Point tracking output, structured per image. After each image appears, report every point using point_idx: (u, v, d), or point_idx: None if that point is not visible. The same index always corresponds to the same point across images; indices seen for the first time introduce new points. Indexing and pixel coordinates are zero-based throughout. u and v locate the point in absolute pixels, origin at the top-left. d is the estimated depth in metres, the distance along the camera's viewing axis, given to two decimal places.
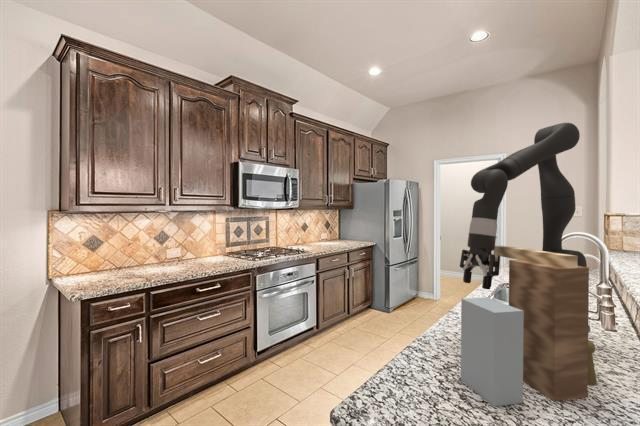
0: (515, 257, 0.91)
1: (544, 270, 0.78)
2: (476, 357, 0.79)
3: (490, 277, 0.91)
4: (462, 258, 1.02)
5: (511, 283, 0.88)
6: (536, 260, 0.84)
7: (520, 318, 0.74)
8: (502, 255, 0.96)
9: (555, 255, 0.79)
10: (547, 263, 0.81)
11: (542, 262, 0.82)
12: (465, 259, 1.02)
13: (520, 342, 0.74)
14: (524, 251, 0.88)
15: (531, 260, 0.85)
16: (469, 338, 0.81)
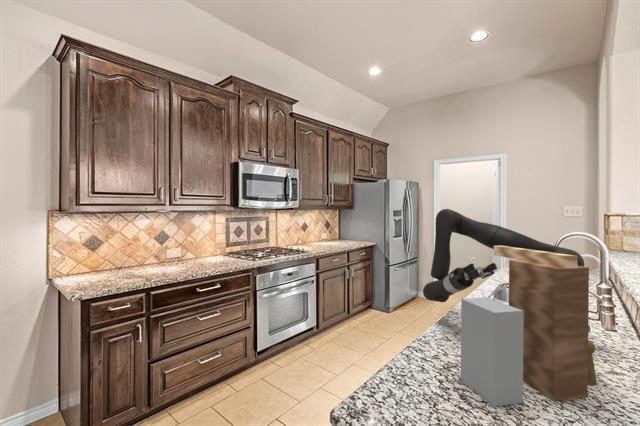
0: (515, 257, 0.91)
1: (544, 270, 0.78)
2: (476, 357, 0.79)
3: (464, 269, 1.07)
4: (487, 275, 1.12)
5: (511, 283, 0.88)
6: (536, 260, 0.84)
7: (520, 318, 0.74)
8: (502, 255, 0.96)
9: (555, 255, 0.79)
10: (547, 263, 0.81)
11: (542, 262, 0.82)
12: None
13: (520, 342, 0.74)
14: (524, 251, 0.88)
15: (531, 260, 0.85)
16: (469, 338, 0.81)
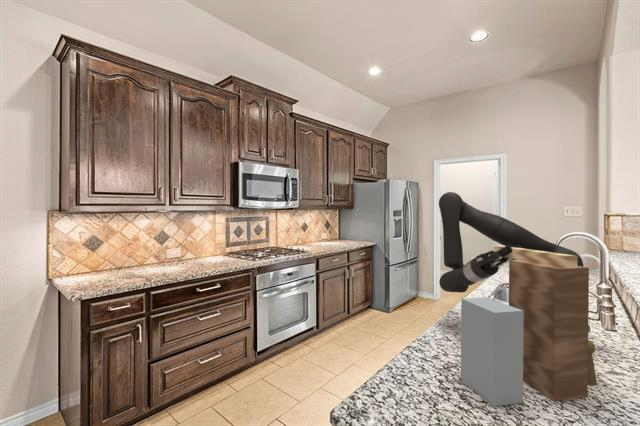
0: (515, 257, 0.91)
1: (544, 270, 0.78)
2: (476, 357, 0.79)
3: (499, 252, 0.95)
4: None
5: (511, 283, 0.88)
6: (536, 260, 0.84)
7: (520, 318, 0.74)
8: None
9: (555, 255, 0.79)
10: (547, 263, 0.81)
11: (542, 262, 0.82)
12: (511, 258, 1.00)
13: (520, 342, 0.74)
14: (524, 251, 0.88)
15: (531, 260, 0.85)
16: (469, 338, 0.81)
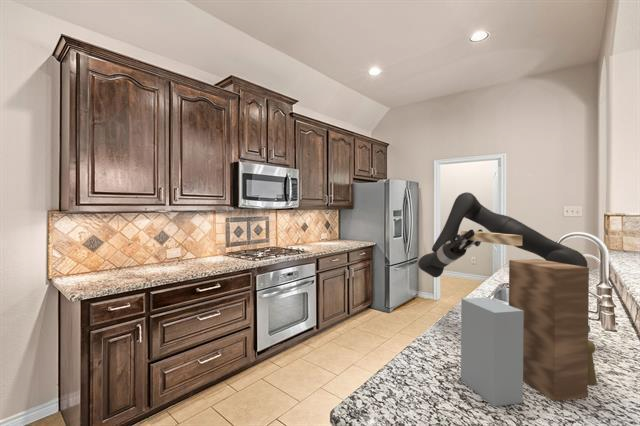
0: (476, 239, 1.06)
1: (544, 270, 0.78)
2: (476, 357, 0.79)
3: (464, 236, 1.10)
4: (478, 243, 1.14)
5: (511, 283, 0.88)
6: (491, 240, 0.99)
7: (520, 318, 0.74)
8: None
9: (505, 235, 0.93)
10: (499, 242, 0.96)
11: (496, 242, 0.97)
12: (476, 241, 1.14)
13: (520, 342, 0.74)
14: (483, 233, 1.03)
15: (488, 241, 1.00)
16: (469, 338, 0.81)
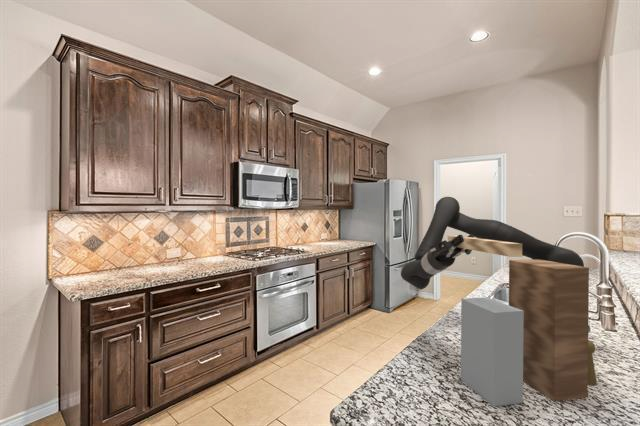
0: (466, 246, 0.86)
1: (544, 270, 0.78)
2: (476, 357, 0.79)
3: (451, 242, 0.91)
4: (469, 251, 0.95)
5: (511, 283, 0.88)
6: (483, 249, 0.80)
7: (520, 318, 0.74)
8: None
9: (500, 243, 0.74)
10: (493, 252, 0.76)
11: (489, 251, 0.78)
12: None
13: (520, 342, 0.74)
14: (474, 240, 0.83)
15: (479, 249, 0.81)
16: (469, 338, 0.81)
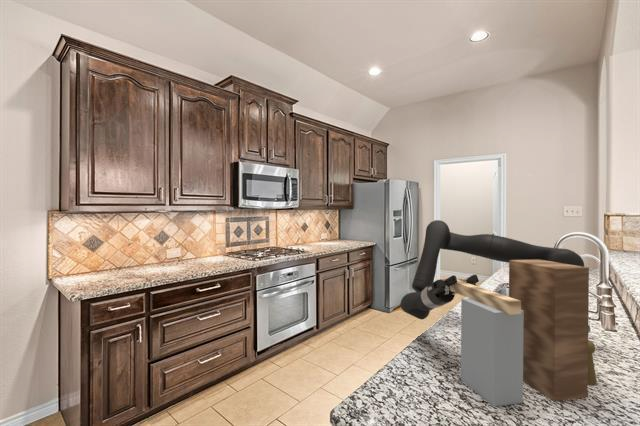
0: (465, 294, 0.87)
1: (544, 270, 0.78)
2: (476, 357, 0.79)
3: (445, 282, 0.91)
4: None
5: (511, 283, 0.88)
6: (482, 301, 0.80)
7: (520, 318, 0.74)
8: (454, 291, 0.91)
9: (499, 299, 0.74)
10: (492, 306, 0.77)
11: (488, 304, 0.78)
12: None
13: (520, 342, 0.74)
14: (473, 290, 0.84)
15: (479, 300, 0.81)
16: (469, 338, 0.81)
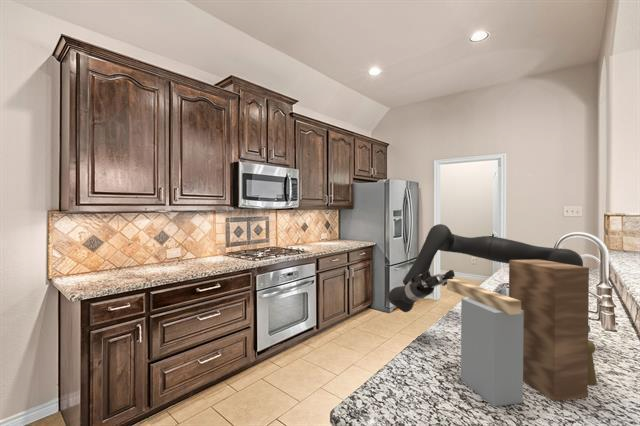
0: (465, 294, 0.87)
1: (544, 270, 0.78)
2: (476, 357, 0.79)
3: (420, 277, 1.03)
4: None
5: (511, 283, 0.88)
6: (482, 301, 0.80)
7: (520, 318, 0.74)
8: (454, 291, 0.91)
9: (499, 299, 0.74)
10: (492, 306, 0.77)
11: (488, 304, 0.78)
12: None
13: (520, 342, 0.74)
14: (473, 290, 0.84)
15: (479, 300, 0.81)
16: (469, 338, 0.81)
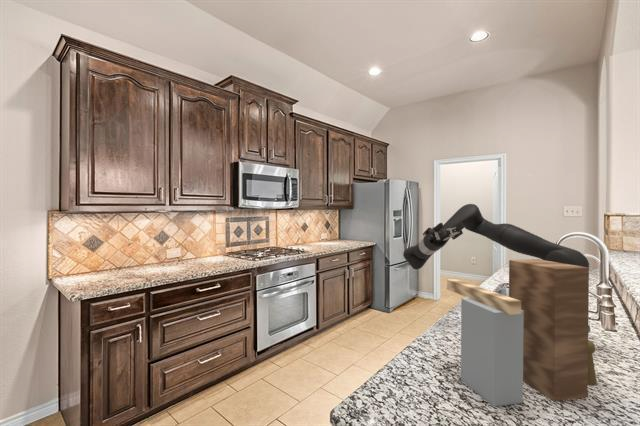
0: (465, 294, 0.87)
1: (544, 270, 0.78)
2: (476, 357, 0.79)
3: (434, 229, 1.18)
4: (457, 236, 1.23)
5: (511, 283, 0.88)
6: (482, 301, 0.80)
7: (520, 318, 0.74)
8: (454, 291, 0.91)
9: (499, 299, 0.74)
10: (492, 306, 0.77)
11: (488, 304, 0.78)
12: (455, 234, 1.23)
13: (520, 342, 0.74)
14: (473, 290, 0.84)
15: (479, 300, 0.81)
16: (469, 338, 0.81)
